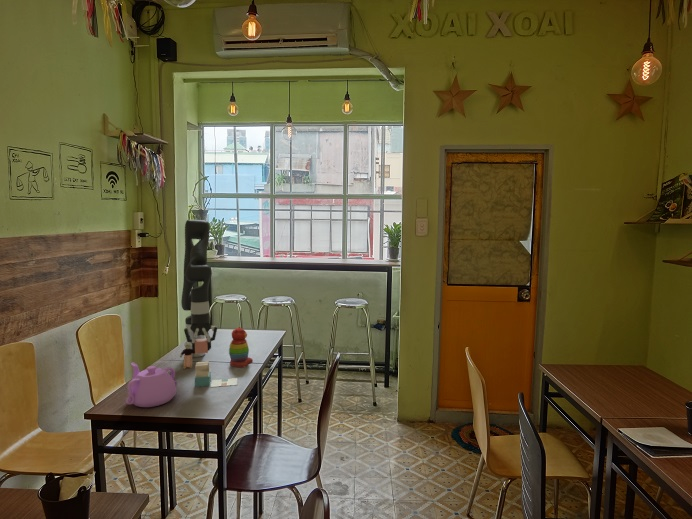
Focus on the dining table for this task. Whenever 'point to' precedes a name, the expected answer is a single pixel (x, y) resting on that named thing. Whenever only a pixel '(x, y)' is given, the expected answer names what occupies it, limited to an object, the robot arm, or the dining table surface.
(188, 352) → the grandmother figurine
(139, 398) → the teapot
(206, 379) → the teal base brick
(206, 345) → the red block
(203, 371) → the maple block
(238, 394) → the dining table surface
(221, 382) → the page
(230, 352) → the stacking bear
